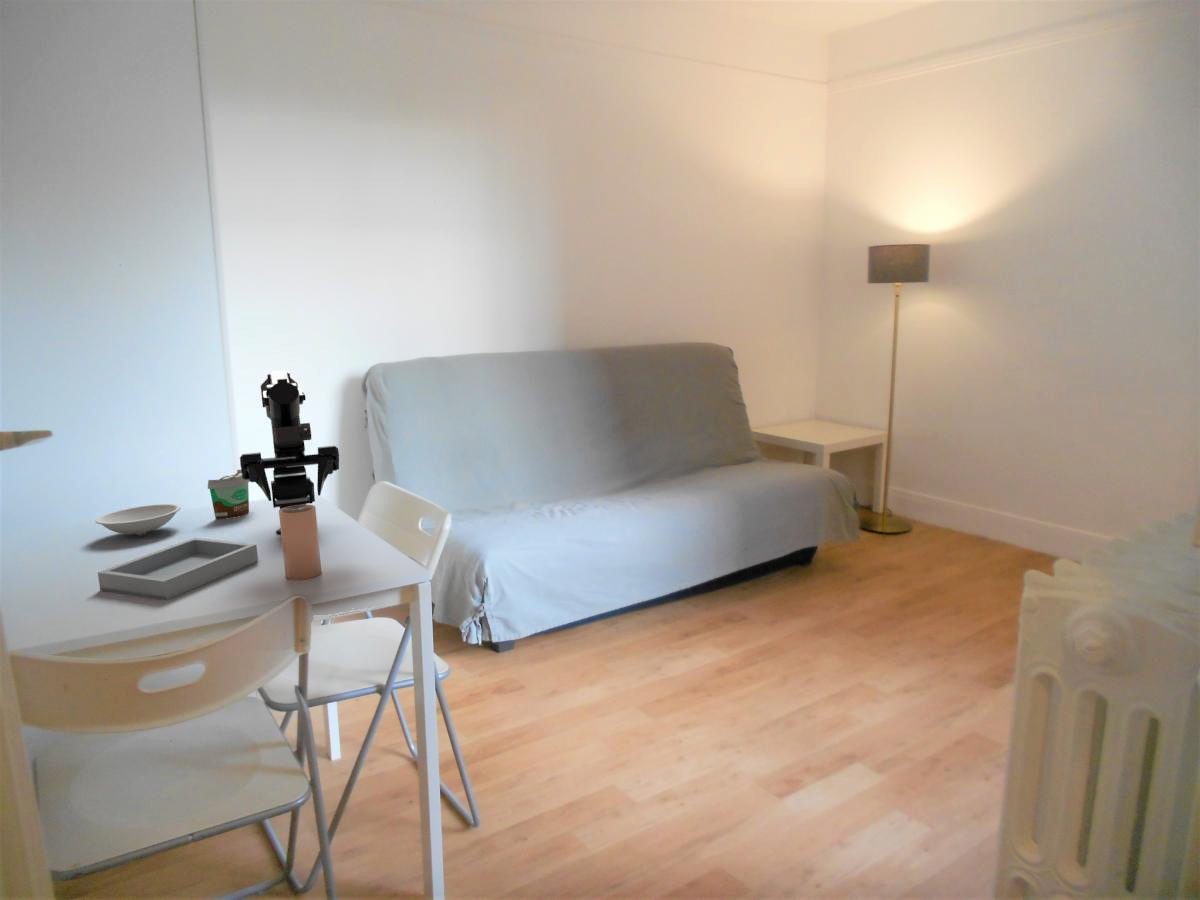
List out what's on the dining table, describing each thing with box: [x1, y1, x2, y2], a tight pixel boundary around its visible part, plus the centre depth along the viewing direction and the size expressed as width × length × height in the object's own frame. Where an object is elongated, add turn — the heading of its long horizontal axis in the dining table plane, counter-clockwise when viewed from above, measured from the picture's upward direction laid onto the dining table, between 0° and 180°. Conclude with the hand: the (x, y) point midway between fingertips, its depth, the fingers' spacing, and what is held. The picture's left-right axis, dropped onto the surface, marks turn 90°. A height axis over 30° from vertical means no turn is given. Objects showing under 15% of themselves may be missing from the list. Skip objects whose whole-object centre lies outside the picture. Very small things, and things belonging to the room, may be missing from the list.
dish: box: [95, 503, 182, 536], centre depth 191 cm, size 18×14×5 cm
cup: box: [278, 504, 323, 581], centre depth 160 cm, size 7×7×13 cm
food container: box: [207, 469, 251, 520], centre depth 205 cm, size 12×6×10 cm, turn 168°
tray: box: [97, 537, 259, 601], centre depth 162 cm, size 22×16×4 cm
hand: (295, 497), depth 166 cm, fingers open, 9 cm apart
